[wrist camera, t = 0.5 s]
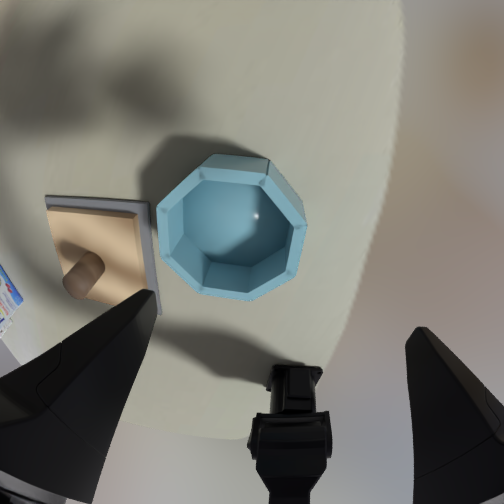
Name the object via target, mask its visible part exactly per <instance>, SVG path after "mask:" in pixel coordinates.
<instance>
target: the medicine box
mask: <svg viewBox="0 0 504 504" xmlns="http://www.w3.org/2000/svg"><path fill="white" fill-rule="evenodd" d="M22 303H23V298H22V297H21V295H20V294H19V292H18V291H17V290H16V288H15V287H14V285H13V284H12V282H11V281H10V279H9V278H8V276H7V275H6V273H5V271H4V270H3V268H2V267H1V265H0V330H1V329H2V327H3V326H4V325H5V323H6V322H7V321H8V320H9V318H10V317H11V316H12V315H13V313H14V312H15V311H16V310H17V309H18V307H19V306H20V305H21V304H22Z"/></svg>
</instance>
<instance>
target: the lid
mask: <svg viewBox="0 0 504 504" xmlns="http://www.w3.org/2000/svg"><path fill="white" fill-rule="evenodd" d="M46 212H47V216H48V221H49V225H50V229H51V233H52V237H53V240H54V244H55V247H56V251H57V254H58V258H59V261H60V264H61V267H62V270H63V273H64V277H63V285H64V287H65V289H66V291H67V292H68V293H69V294H70V295H71V296H72V297H74V298H76V299H79V300H82V299H84V298H88V299H91V300H95V301H99V302H103V303H107V304H110V305H114V306H116V305H117V304H119V303H120V302H122V301H123V300H125V299H127V298H128V297H130V296H131V295H133V294H134V293H136V292H138V291H139V290H141V289H148V285H147V280H146V273H145V267H144V261H143V254H142V246H141V238H140V230H139V221H138V214H133V213H123V212H112V211H101V210H90V209H78V208H66V207H53V206H52V207H51V208H49V209H48V210H46Z"/></svg>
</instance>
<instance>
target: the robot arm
mask: <svg viewBox="0 0 504 504" xmlns="http://www.w3.org/2000/svg"><path fill="white" fill-rule="evenodd" d="M157 312H158V308H157V301H156V294H155V292H154V291H153V290H149V289H141V290H139V291H138V292H136V293H134V294H133V295H131V296H130V297H128V298H127V299H125V300H123V301H122V302H120V303H119V304H117V305H116V306H114V307H113V308H111V309H110V310H108V311H106V312H105V313H103V314H102V315H100V316H99V317H97V318H96V319H94V320H93V321H91V322H90V323H88V324H87V325H85V326H84V327H82V328H81V329H79V330H78V331H76V332H75V333H73V334H72V335H70V336H69V337H67V338H66V339H64V340H63V341H62V343H61V342H60V343H58V344H57V345H55V346H54V347H52V348H51V349H49V350H48V351H46V352H45V353H43V354H41V355H40V356H38V357H37V358H35V359H33V360H31V361H30V362H28V363H26V364H24V365H22V366H21V367H19V368H17V369H15V370H14V371H12V372H10V373H8V374H6V375H4V376H3V377H1V378H0V504H65V503H66V500H67V498H69V499H73V500H76V501H80V502H84V503H87V504H92V501H93V498H94V494H95V491H96V487H97V484H98V481H99V478H100V475H101V471H102V468H103V465H104V462H105V459H106V456H107V453H108V449H109V447H110V444H111V441H112V438H113V436H114V433H115V430H116V427H117V424H118V421H119V419H120V416H121V414H122V411H123V408H124V406H125V403H126V401H127V398H128V396H129V393H130V391H131V388H132V385H133V383H134V381H135V378H136V376H137V373H138V371H139V368H140V366H141V364H142V361H143V359H144V356H145V353H146V350H147V347H148V343H149V340H150V337H151V333H152V330H153V327H154V323H155V320H156V317H157ZM405 352H406V365H407V383H408V391H409V400H410V408H411V419H412V431H413V449H414V490H413V504H504V406H503V405H502V404H501V403H500V402H499V401H498V400H497V399H496V398H495V396H494V395H493V394H492V393H491V392H490V391H489V390H488V389H487V388H486V387H484V384H483V383H482V382H481V381H480V380H479V379H478V378H477V377H476V376H475V375H474V374H473V373H472V372H471V371H470V370H469V368H467V366H465V364H464V363H463V362H462V361H461V360H460V359H459V358H458V357H457V356H456V355H455V354H454V353H453V352H452V351H451V350H450V349H449V348H448V347H447V346H446V345H445V344H444V343H443V342H442V341H441V340H440V339H438V337H437V336H436V335H435V334H434V333H433V332H431V331H430V330H429V329H428V328H427V327H417V328H415V330H414V331H413V333H412V334H411V336H410V337H409V338H408V340H407V341H406V344H405ZM322 374H323V370H322V369H321V368H305V367H292V366H281V365H274V366H273V367H272V370H271V373H270V377H269V380H268V383H267V386H266V391H269V392H271V402H270V414H263V413H257V415H256V417H255V418H253V421H252V429H251V433H250V436H249V440H248V443H247V448H248V449H249V450H250V451H251V454H252V459H253V460H256V470H257V472H258V474H259V476H260V477H261V479H262V481H263V483H264V484H265V486H266V487H267V489H268V491H269V493H270V494H269V504H310V492H311V490H312V489H313V487H314V486H315V484H316V483H317V481H318V480H319V479H320V477H321V475H322V474H323V473H324V471H325V469H326V466H327V458H331V455H332V431H331V423H330V416H329V411H324V412H316V399H315V398H316V397H315V386H316V384H317V382H318V381H319V379H320V377H321V375H322Z"/></svg>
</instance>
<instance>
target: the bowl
mask: <svg viewBox="0 0 504 504" xmlns="http://www.w3.org/2000/svg"><path fill="white" fill-rule="evenodd" d="M268 160H269V159H263V158H255V157H246V156H236V155H225V154H212V155H211V156H210V157H209V158H207V159H206V160H205V161H204V162H203V163H202V164H201V165H199V166H198V167H197V168H196V169H195V170H194V171H193V172H192V173H190V174H189V175H188V176H187V177H186V178H185V179H184V180H183V181H182V182H181V183H180V184H178V185H177V186H176V187H175V188H174V189H173V190H172V191H171V192H170V193H169V194H168V195H167V196H166V197H165V198H164V199H163V200H162V201H161V202H160V203H159V204H158V205H157V207H156V212H157V226H158V238H159V249H160V257H162V258H161V259H162V260H163V261H164V262H165V263H166V264H167V265H168V266H169V267H170V268H171V269H173V270H174V271H175V272H176V273H177V274H178V275H179V276H180V277H181V278H182V279H183V280H184V281H185V282H186V283H187V284H189V285H190V286H191V287H192V288H193V289H194V290H195V291H196V292H197V293H199V294H204V295H210V296H216V297H223V298H230V299H237V300H244V301H250V300H251V301H253V300H255V299H256V298H258V297H260V296H262V295H264V294H266V293H267V292H269V291H271V290H273V289H275V288H276V287H278V286H280V285H282V284H283V283H285V282H287V281H289V280H291V279H292V278H294V277H295V276H296V273H297V269H298V265H299V261H300V256H301V252H302V247H303V243H304V238H305V234H306V229H307V222H306V217H305V211H304V206H303V202H302V200H301V199H300V197H299V196H298V195H297V193H296V192H295V191H294V189H293V188H292V187H291V186H290V184H289V183H288V182H287V180H286V179H285V178H284V177H283V175H282V174H281V173H280V172H279V170H278V169H277V168H276V167H275V165H274V164H273V163H272V162H271V161H268Z"/></svg>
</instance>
